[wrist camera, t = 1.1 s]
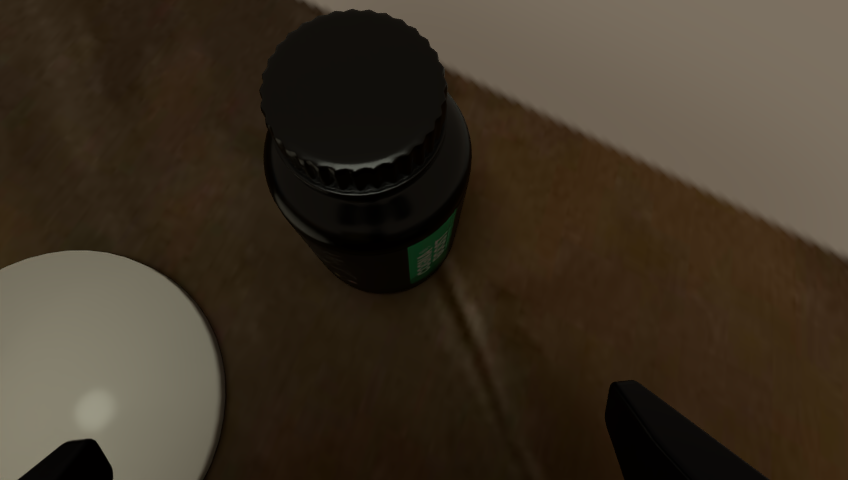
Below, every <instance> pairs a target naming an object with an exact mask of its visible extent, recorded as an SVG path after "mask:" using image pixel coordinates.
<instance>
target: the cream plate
mask: <svg viewBox="0 0 848 480" xmlns="http://www.w3.org/2000/svg"><path fill="white" fill-rule="evenodd" d="M225 399H226V391H225V373H224V367H223V361H222V355H221V352H220V349H219V346H218V342H217V339H216V336H215V334H214V332H213V330H212V328H211V326H210V323H209V321H208V319H207V318H206V316H205V315H204V313H203V312H202V310H201V309H200V307H199V306H198V304H197V303H196V302H195V301H194V300H193V299H192V298H191V297H190V295H189V294H188V293H187V292H186V291H185V290H184V289H183V288H181V287H180V286H179V285H178V284H177V283H175V282H174V281H173V280H172V279H170V278H169V277H167V276H165V275H164V274H162V273H160V272H158V271H157V270H155V269H153V268H150V267H148V266H145V265H143V264H141V263H138V262H136V261H133V260H131V259H128V258H126V257H122V256H118V255H114V254H110V253H104V252H96V251H63V252H56V253H48V254H44V255H40V256H36V257H32V258H29V259H25V260H23V261H20V262H17V263H15V264H12V265H10V266H7V267H5V268H3V269H1V270H0V480H18V479H19V478H20V477H22V476H23V475H24V474H25V473H27V472H28V471H29V470H30V469H32V468H33V467H34V466H35V465H37V464H38V463H39V462H40V461H42V460H43V459H44V458H45V457H47V456H48V455H49V454H50V453H51V452H53V451H54V450H55V449H56V448H58V447H59V446H60V445H62V444H63V443H65V442H67V441H70V440H78V439H87V438H90V439H93V440H95V441H96V442H97V443H98V444H99V446H100V448H101V449H102V451H103V453H104V454H105V456H106V458H107V459H108V461H109V463H110V464H111V466H112V469H113V480H204V477H205V475H206V473H207V471H208V469H209V467H210V465H211V463H212V460H213V457H214V454H215V451H216V448H217V445H218V442H219V438H220V433H221V429H222V424H223V420H224V410H225Z"/></svg>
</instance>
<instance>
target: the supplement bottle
mask: <svg viewBox="0 0 848 480" xmlns="http://www.w3.org/2000/svg"><path fill="white" fill-rule="evenodd" d="M444 73H445V71H444V67H443V66H442V64H441V63H440V62H439V60H438V54H437V52H436V51H435V50H434V49H432V48H431V47H430V44H429V41H428V40H427V39H426V38H424V37H422V36H420V35H419V33H418V31H417V29H416V28H413V27H411V26H408V25H407V24H406V23H405V22H404V21H403V20H401V19H395V18H392V17H391V16H389V15H388V14H387V13H376V12H373V11H371V10H365V11H358V10H354V9H351V10H348V11H345V12H341V11H334V12H332V13H330V14H328V15H321V16H317V17H316V18H315V19H313V20H312V21H310V22H306V23H302V25H301V26H300V27H299V28H298V29H297V30H295V31H293V32H291V33H289V34H288V35H287V37H286V39H285V41H283V42H281V43H280V44H278V45H277V47H276V51H275V53H274V54H273V55H272V56H271V57H270V58H269V59H268V67H267V68H266V70H265V71H264V73H263V74H262V79H263V84H262V86H261V88H260V90H259V91H260V95H261V98H262V102H261V111H262V113H263V115H264V116H265V121H266V126H267V128H268V131H267V134H266V139H265V144H264V170H265V176H266V181H267V184H268V187H269V190H270V193H271V195H272V197H273V199H274V201H275V203H276V204H277V206H278V208H279V209H280V211H281V212H282V214H283V215H284V217H285V218H286V219H287V220H288V222H289V223H290V224H291V225H292V227H293V228H294V229H295V230H296V231H297V233H298V234H299V235H300V236H301V237H302V239H303V240H304V241H305V242H306V243H307V244H308V246H309V247H310V248H311V249H312V250H313V252H314V253H315V254H316V255H317V256H318V258H319V259H320V260H321V261H322V262H323V264H324V265H325V266H326V267H327V268H328V269H329V270H330V271H331V272H332V273H333V274H334V275H335V276H336V277H338V278H339V279H340V280H342V281H343V282H345V283H346V284H348V285H350V286H352V287H354V288H357V289H359V290H362V291H366V292H371V293H395V292H400V291H404V290H407V289H410V288H412V287H415V286H417V285H418V284H420V283H422V282H423V281H425V280H427V279H428V278H429V277H430V276H431V275H433V274H434V273H435V272H436V271H437V270H438V268H439V267H440V266H441V265H442V263H443V262H444V260H445V259H446V257H447V255H448V253H449V252H450V249H451V247H452V244H453V241H454V237H455V234H456V230H457V226H458V222H459V218H460V214H461V210H462V206H463V202H464V198H465V194H466V190H467V186H468V182H469V176H470V171H471V159H472V148H471V140H470V135H469V131H468V127H467V124H466V122H465V119H464V117H463V115H462V113H461V111H460V109H459V107H458V106H457V104H456V103H455V101H454V100H453V99H452V97H451V96H450V95H449V93H448V92H447V88H448V87H447V83H446V80H445V78H444Z"/></svg>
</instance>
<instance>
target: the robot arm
mask: <svg viewBox="0 0 848 480" xmlns="http://www.w3.org/2000/svg"><path fill="white" fill-rule="evenodd" d="M605 421H606V426H607V429H608V432H609V435H610V438H611V441H612V444H613V447H614V450H615V453H616V456H617V459H618V462H619V465H620V468H621V471H622V474H623V477H624V480H769V479H768V478H767V477H765V476H764V475H762V474H761V473H760V472H758V471H757V470H756V469H754V468H753V467H752V466H750V465H749V464H748V463H746V462H745V461H744V460H742V459H741V458H740V457H738V456H737V455H736V454H734V453H733V452H731V451H730V450H729V449H727V448H726V447H725V446H723V445H722V444H721V443H719V442H718V441H717V440H715V439H714V438H713V437H711V436H710V435H709V434H707V433H706V432H705V431H703V430H702V429H701V428H699V427H698V426H696V425H695V424H694V423H692V422H691V421H690V420H688V419H687V418H686V417H684V416H683V415H682V414H680V413H679V412H678V411H676V410H675V409H674V408H672V407H671V406H670V405H668V404H667V403H666V402H664V401H663V400H661V399H660V398H659V397H657V396H656V395H655V394H653V393H652V392H651V391H649V390H648V389H647V388H645V387H644V386H643V385H641V384H640V383H638V382H636V381H634V380H627V381H618V382H613V383H612V384H611V385H610V388H609V393H608V399H607V405H606V411H605ZM18 480H113V469H112V466H111V464H110V463H109V461H108V459H107V458H106V456H105V454H104V453H103V451H102V449H101V448H100V446H99V444H98V443H97V442H96V441H95V440H93V439H90V438H87V439H78V440H70V441H67V442H65V443H63V444H62V445H60V446H59V447H58V448H56V449H55V450H54V451H53V452H51V453H50V454H49V455H48V456H47V457H45V458H44V459H43V460H42V461H40V462H39V463H38V464H37V465H35V466H34V467H33V468H32V469H30V470H29V471H28V472H27V473H25V474H24V475H23V476H22V477H20V478H19V479H18Z"/></svg>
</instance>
